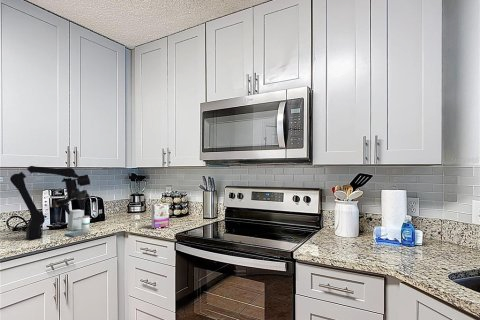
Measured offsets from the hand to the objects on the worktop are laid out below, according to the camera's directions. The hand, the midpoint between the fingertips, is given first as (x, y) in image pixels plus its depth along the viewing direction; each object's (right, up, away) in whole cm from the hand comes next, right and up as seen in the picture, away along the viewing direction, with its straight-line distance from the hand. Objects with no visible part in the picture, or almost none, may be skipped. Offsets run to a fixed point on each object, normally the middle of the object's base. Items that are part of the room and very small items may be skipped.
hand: (75, 212), depth 171 cm
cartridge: (+3, -14, +6) cm, 15 cm away
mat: (+3, -13, -4) cm, 14 cm away
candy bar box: (+48, -14, +17) cm, 53 cm away
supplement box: (-7, -14, +12) cm, 20 cm away
